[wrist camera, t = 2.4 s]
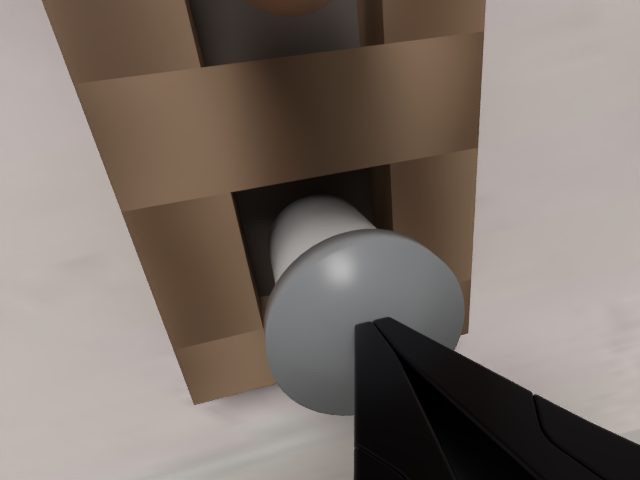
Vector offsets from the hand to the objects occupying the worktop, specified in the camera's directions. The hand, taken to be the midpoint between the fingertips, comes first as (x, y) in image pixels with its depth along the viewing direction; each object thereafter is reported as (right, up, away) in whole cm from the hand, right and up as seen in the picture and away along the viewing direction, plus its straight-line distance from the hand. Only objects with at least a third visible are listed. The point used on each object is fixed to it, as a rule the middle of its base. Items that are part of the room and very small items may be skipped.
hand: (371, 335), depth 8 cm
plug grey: (-1, +2, +5) cm, 6 cm away
